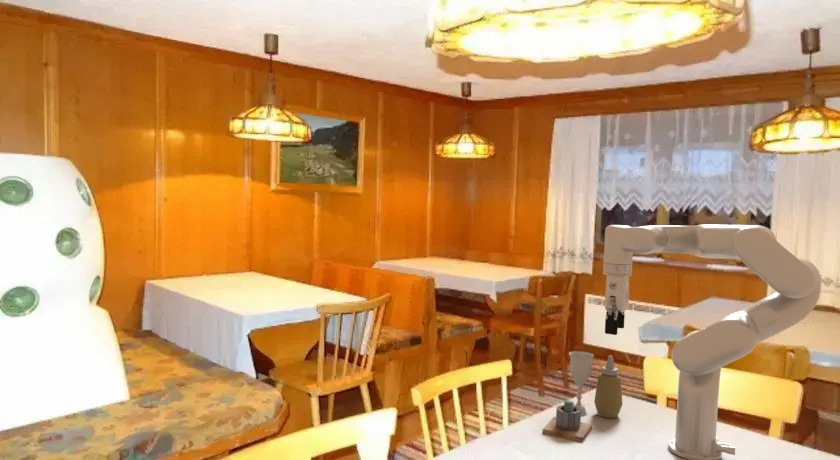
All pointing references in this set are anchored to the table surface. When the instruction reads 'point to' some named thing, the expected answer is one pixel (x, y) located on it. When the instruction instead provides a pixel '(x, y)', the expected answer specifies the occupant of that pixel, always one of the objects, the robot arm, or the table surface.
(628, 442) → the table surface
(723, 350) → the robot arm
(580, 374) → the chalice
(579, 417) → the ring
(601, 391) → the squeeze bottle
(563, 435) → the post stand
